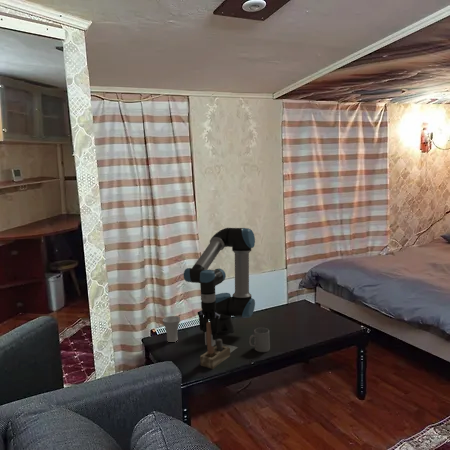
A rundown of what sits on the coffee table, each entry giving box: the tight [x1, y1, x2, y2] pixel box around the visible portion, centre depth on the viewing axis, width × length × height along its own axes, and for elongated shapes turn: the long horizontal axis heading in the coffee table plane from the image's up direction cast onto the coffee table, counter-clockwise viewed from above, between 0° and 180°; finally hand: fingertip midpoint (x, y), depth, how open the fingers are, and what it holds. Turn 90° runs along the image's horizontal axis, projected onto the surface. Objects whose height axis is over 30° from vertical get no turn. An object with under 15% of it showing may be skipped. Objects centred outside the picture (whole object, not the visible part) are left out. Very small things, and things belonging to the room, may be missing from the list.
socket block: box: [199, 338, 231, 370], centre depth 218 cm, size 8×16×10 cm, turn 146°
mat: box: [222, 343, 239, 354], centre depth 232 cm, size 10×10×1 cm
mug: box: [248, 327, 271, 353], centre depth 229 cm, size 12×8×11 cm
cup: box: [162, 315, 181, 343], centre depth 245 cm, size 10×10×14 cm
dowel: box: [206, 321, 215, 354], centre depth 213 cm, size 3×3×16 cm
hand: (210, 344), depth 214 cm, fingers closed on dowel, 3 cm apart
